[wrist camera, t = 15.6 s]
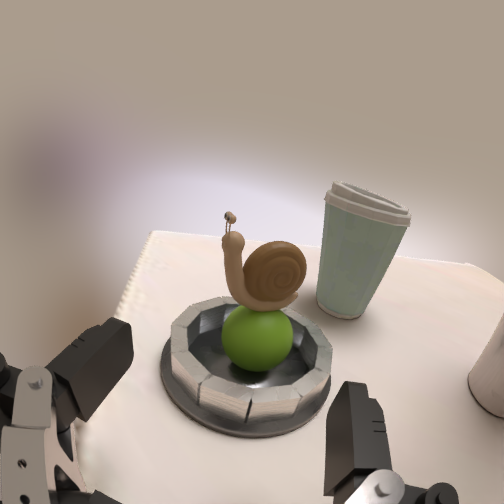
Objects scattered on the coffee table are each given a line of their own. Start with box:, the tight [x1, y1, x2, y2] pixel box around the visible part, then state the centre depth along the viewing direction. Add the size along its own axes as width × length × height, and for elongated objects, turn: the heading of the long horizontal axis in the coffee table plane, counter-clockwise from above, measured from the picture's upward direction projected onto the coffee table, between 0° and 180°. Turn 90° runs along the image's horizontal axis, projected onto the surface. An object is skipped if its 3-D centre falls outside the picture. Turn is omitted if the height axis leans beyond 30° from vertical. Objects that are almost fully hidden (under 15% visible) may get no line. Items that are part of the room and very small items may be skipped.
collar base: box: [161, 296, 333, 438], centre depth 21 cm, size 14×14×3 cm
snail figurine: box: [221, 212, 307, 372], centre depth 19 cm, size 5×6×12 cm
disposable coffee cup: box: [316, 181, 411, 319], centre depth 32 cm, size 11×11×15 cm
